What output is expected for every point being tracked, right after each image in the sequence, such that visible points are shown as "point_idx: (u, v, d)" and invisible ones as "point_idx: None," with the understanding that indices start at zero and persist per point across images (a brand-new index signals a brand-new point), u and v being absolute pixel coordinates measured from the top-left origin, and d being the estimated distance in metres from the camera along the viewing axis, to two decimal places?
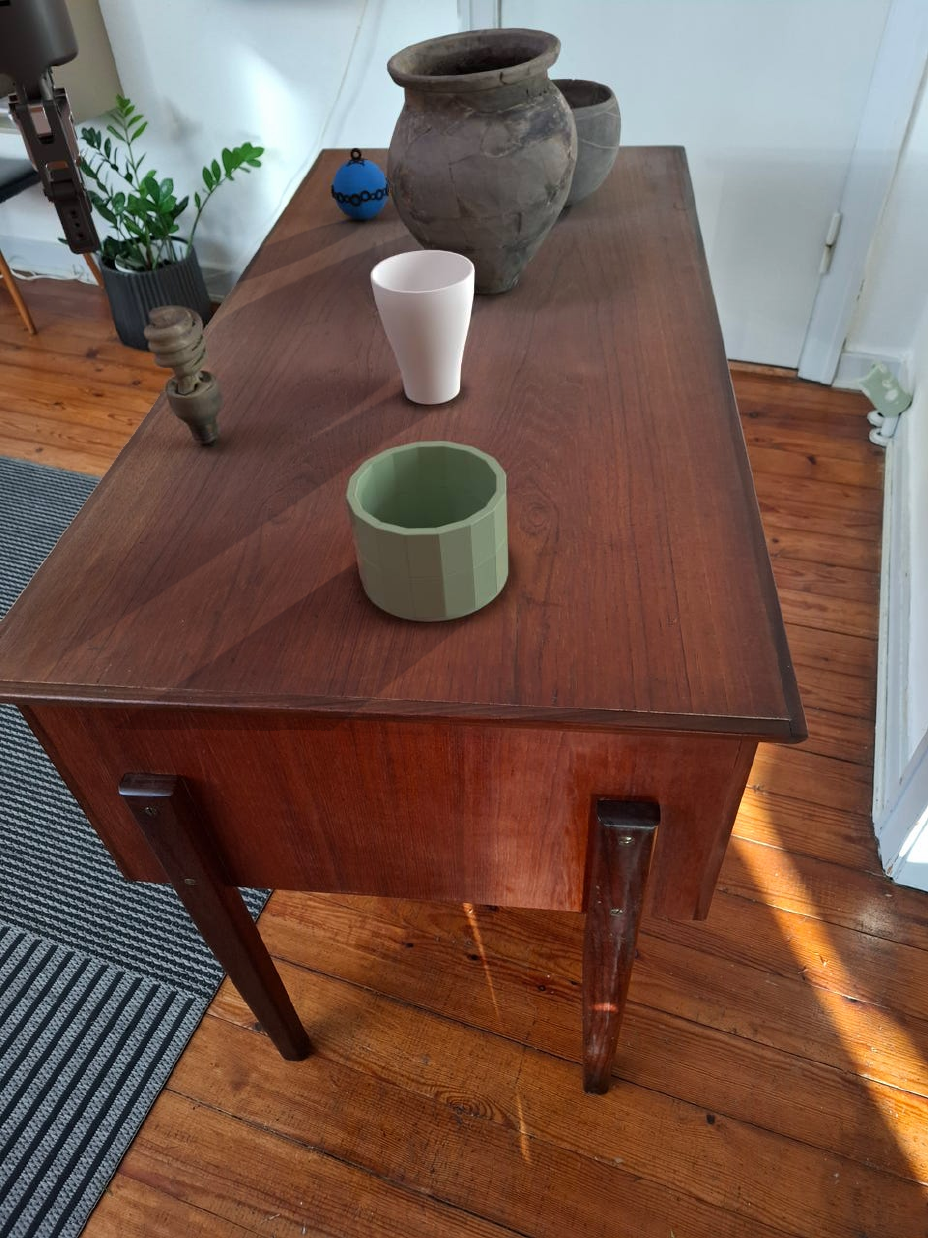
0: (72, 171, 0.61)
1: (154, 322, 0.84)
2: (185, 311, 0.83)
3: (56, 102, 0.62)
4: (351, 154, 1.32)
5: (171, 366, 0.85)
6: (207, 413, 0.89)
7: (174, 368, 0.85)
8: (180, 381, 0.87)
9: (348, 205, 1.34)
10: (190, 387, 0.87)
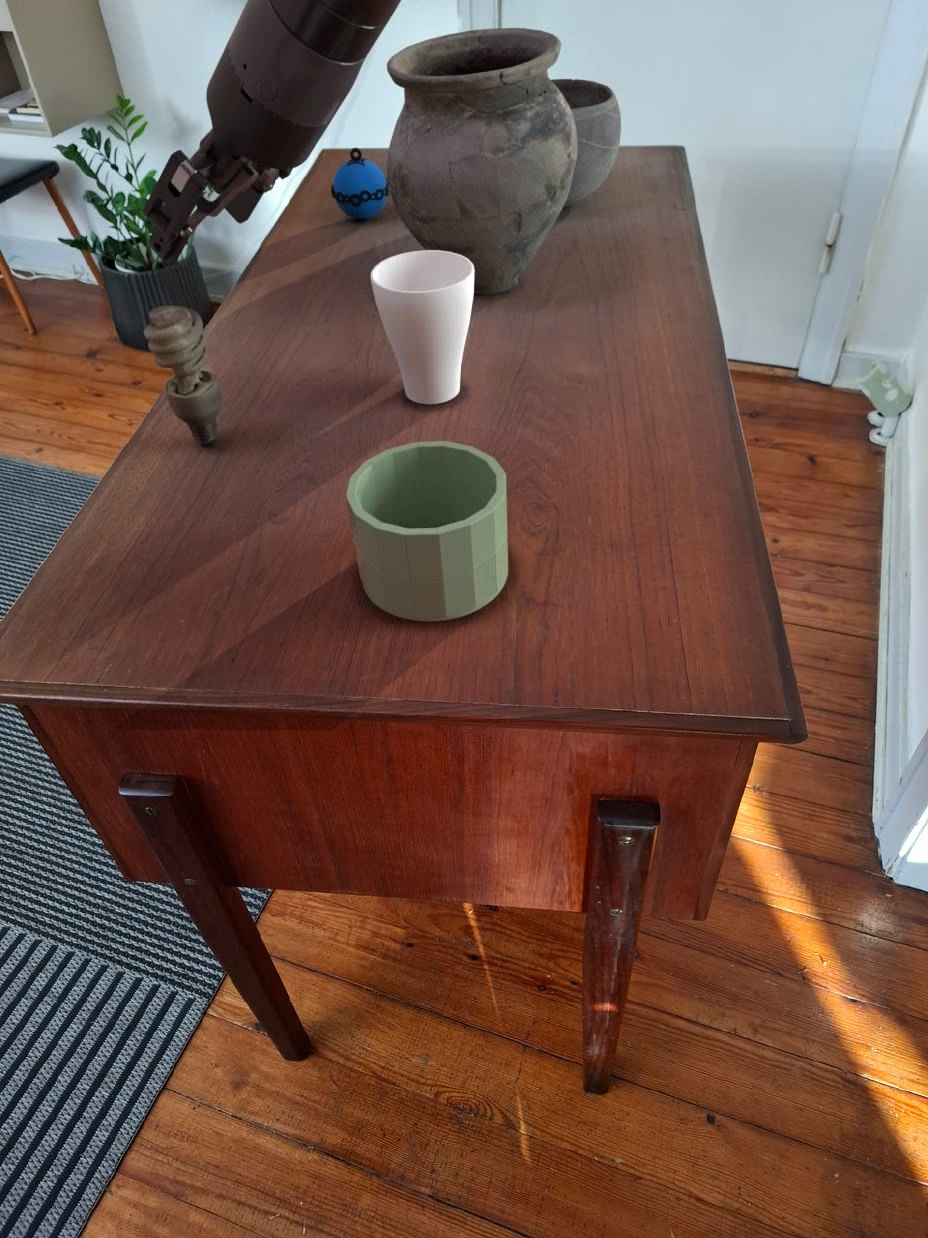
0: (172, 224, 0.60)
1: (154, 322, 0.84)
2: (185, 311, 0.83)
3: (240, 170, 0.61)
4: (351, 154, 1.32)
5: (171, 366, 0.85)
6: (207, 413, 0.89)
7: (174, 368, 0.85)
8: (180, 381, 0.87)
9: (348, 205, 1.34)
10: (190, 387, 0.87)
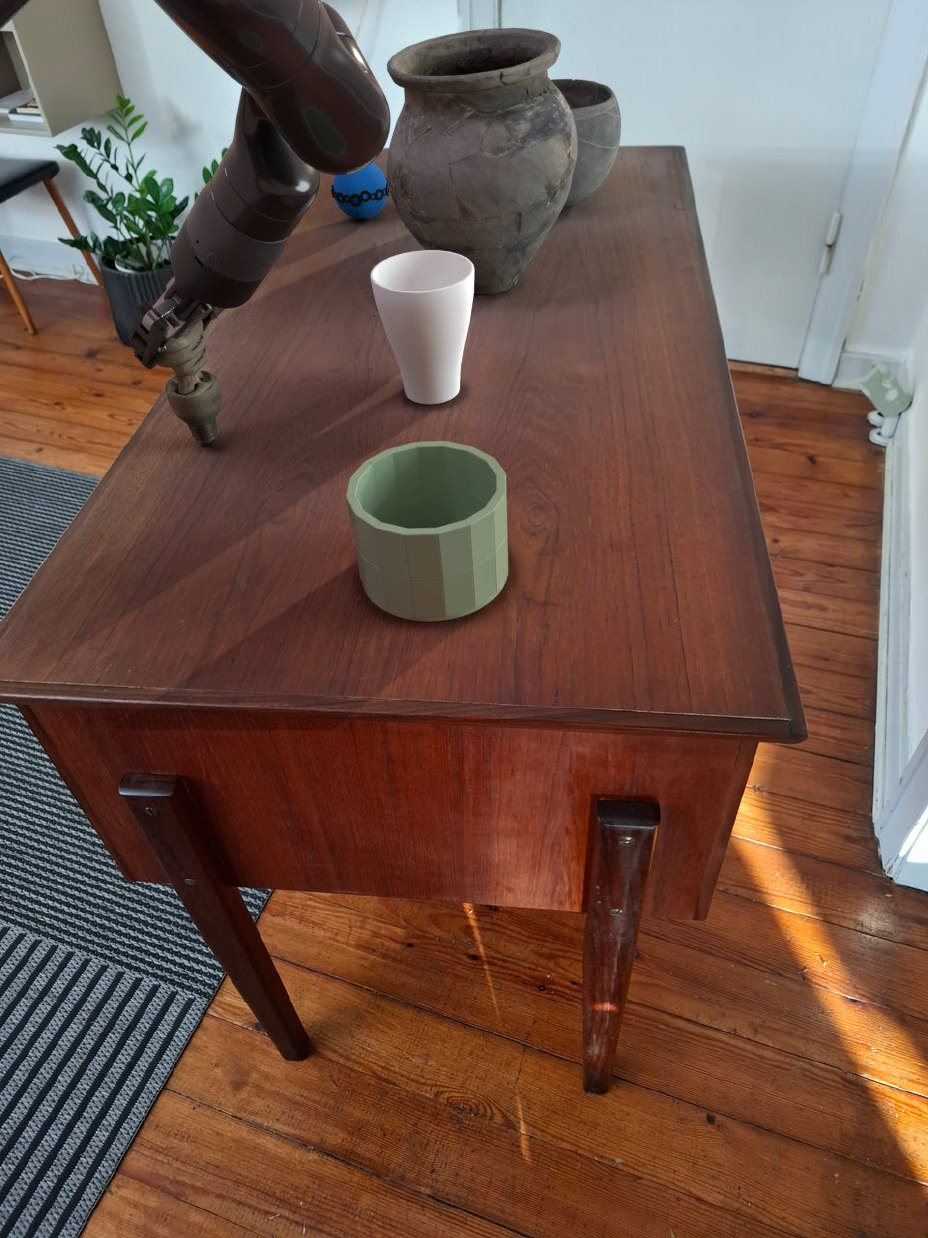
0: (148, 349, 0.79)
1: None
2: None
3: (197, 306, 0.78)
4: None
5: (171, 366, 0.85)
6: (207, 413, 0.89)
7: (174, 368, 0.85)
8: (180, 381, 0.87)
9: (348, 205, 1.34)
10: (190, 387, 0.87)
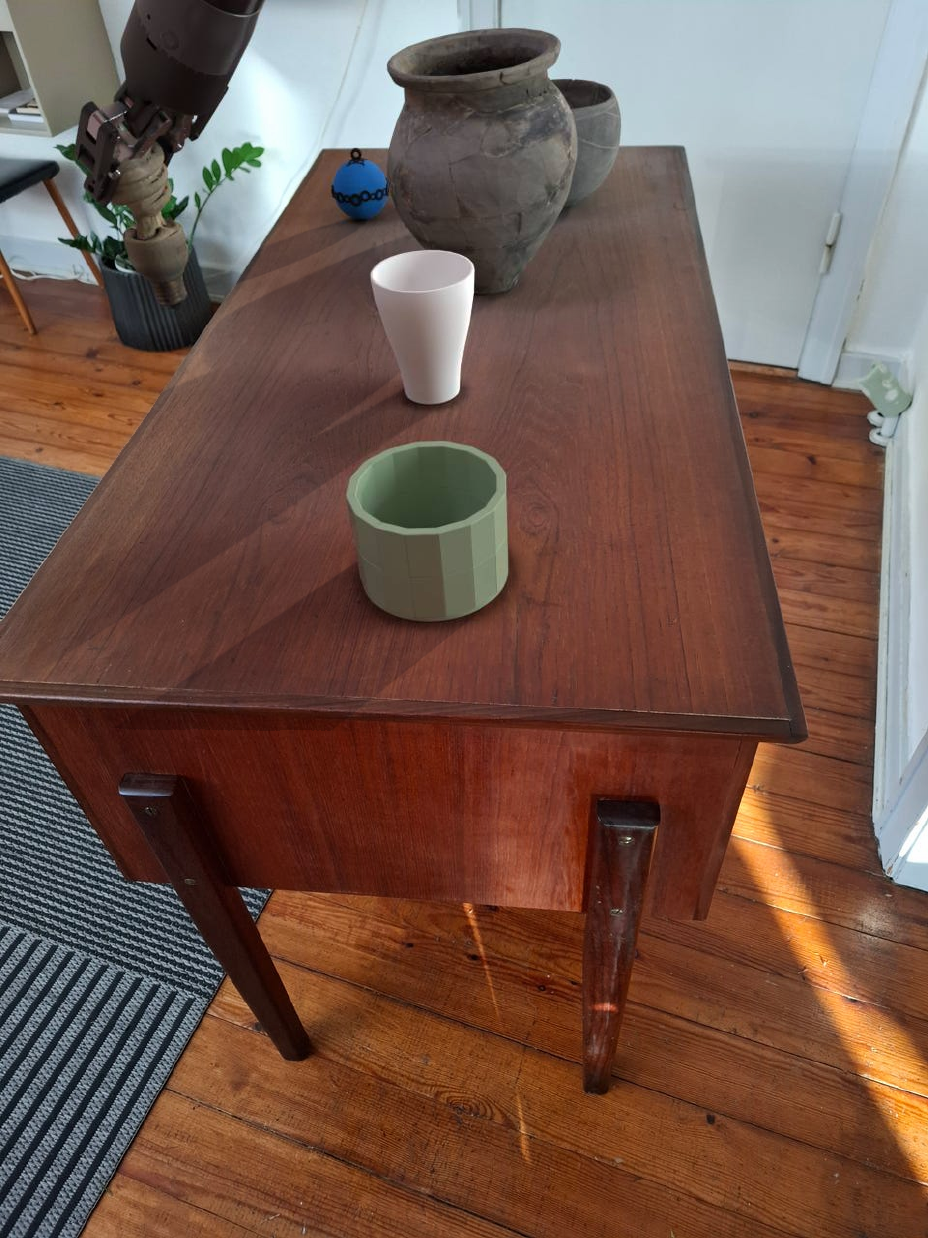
0: (96, 167, 0.67)
1: None
2: None
3: (154, 116, 0.67)
4: (351, 154, 1.32)
5: (127, 202, 0.74)
6: (170, 264, 0.78)
7: (131, 206, 0.74)
8: (139, 223, 0.76)
9: (348, 205, 1.34)
10: (150, 231, 0.76)
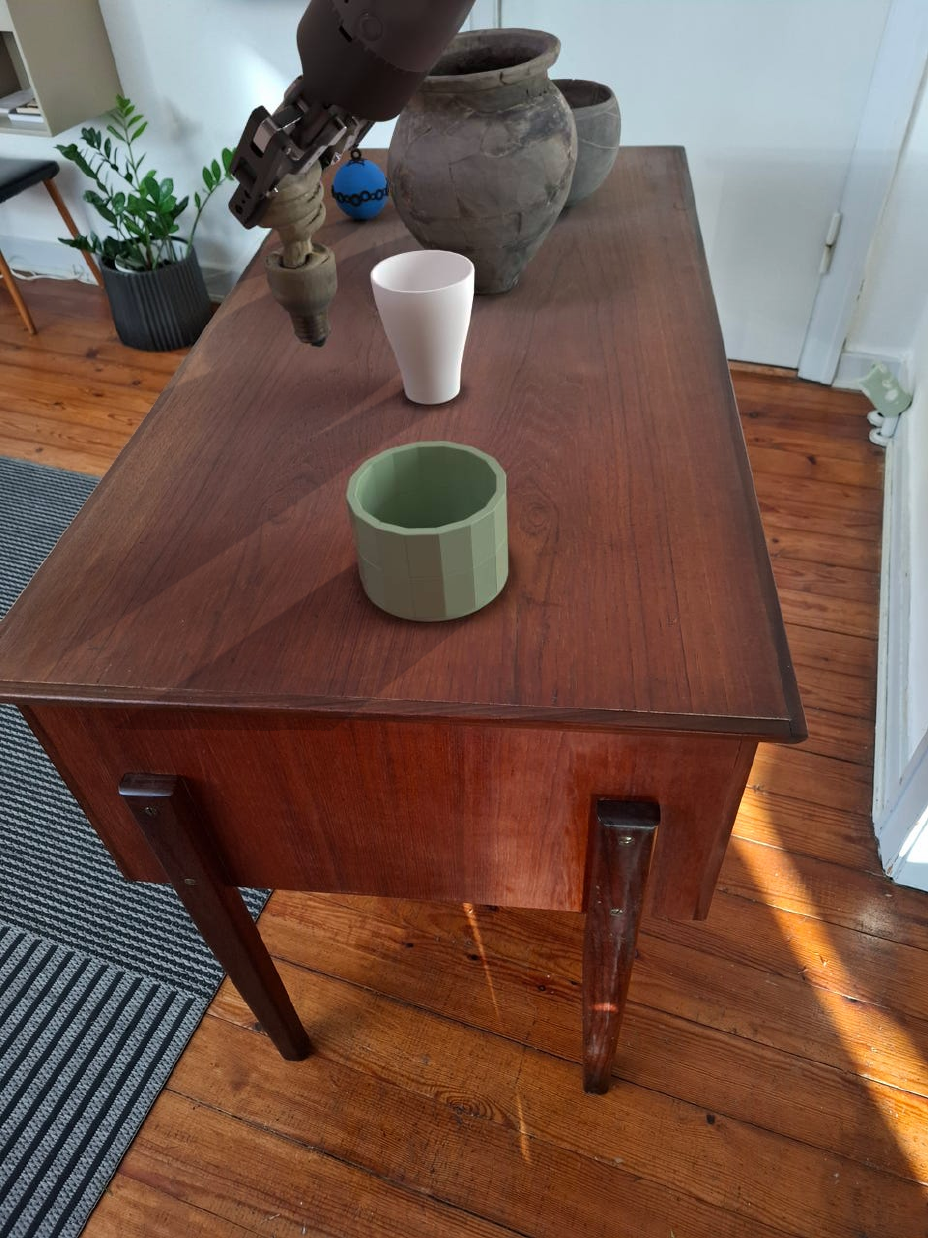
0: (257, 185, 0.56)
1: None
2: None
3: (328, 123, 0.55)
4: (351, 154, 1.32)
5: (279, 224, 0.62)
6: (320, 296, 0.66)
7: (281, 229, 0.63)
8: (288, 249, 0.64)
9: (348, 205, 1.34)
10: (300, 258, 0.64)
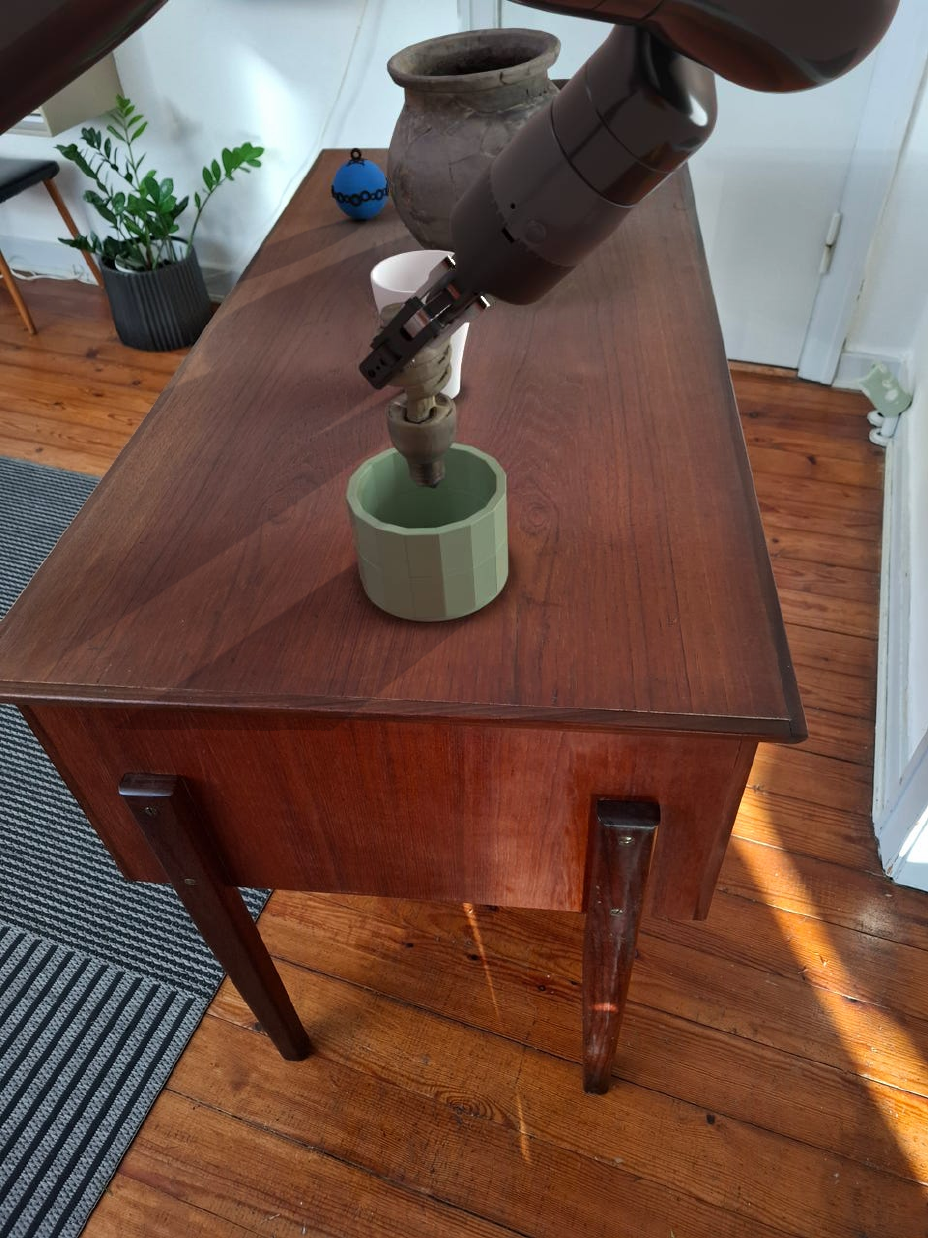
0: (401, 363, 0.56)
1: None
2: None
3: (472, 302, 0.55)
4: (351, 154, 1.32)
5: (408, 385, 0.62)
6: (442, 447, 0.66)
7: (410, 388, 0.63)
8: (413, 405, 0.64)
9: (348, 205, 1.34)
10: (425, 413, 0.64)
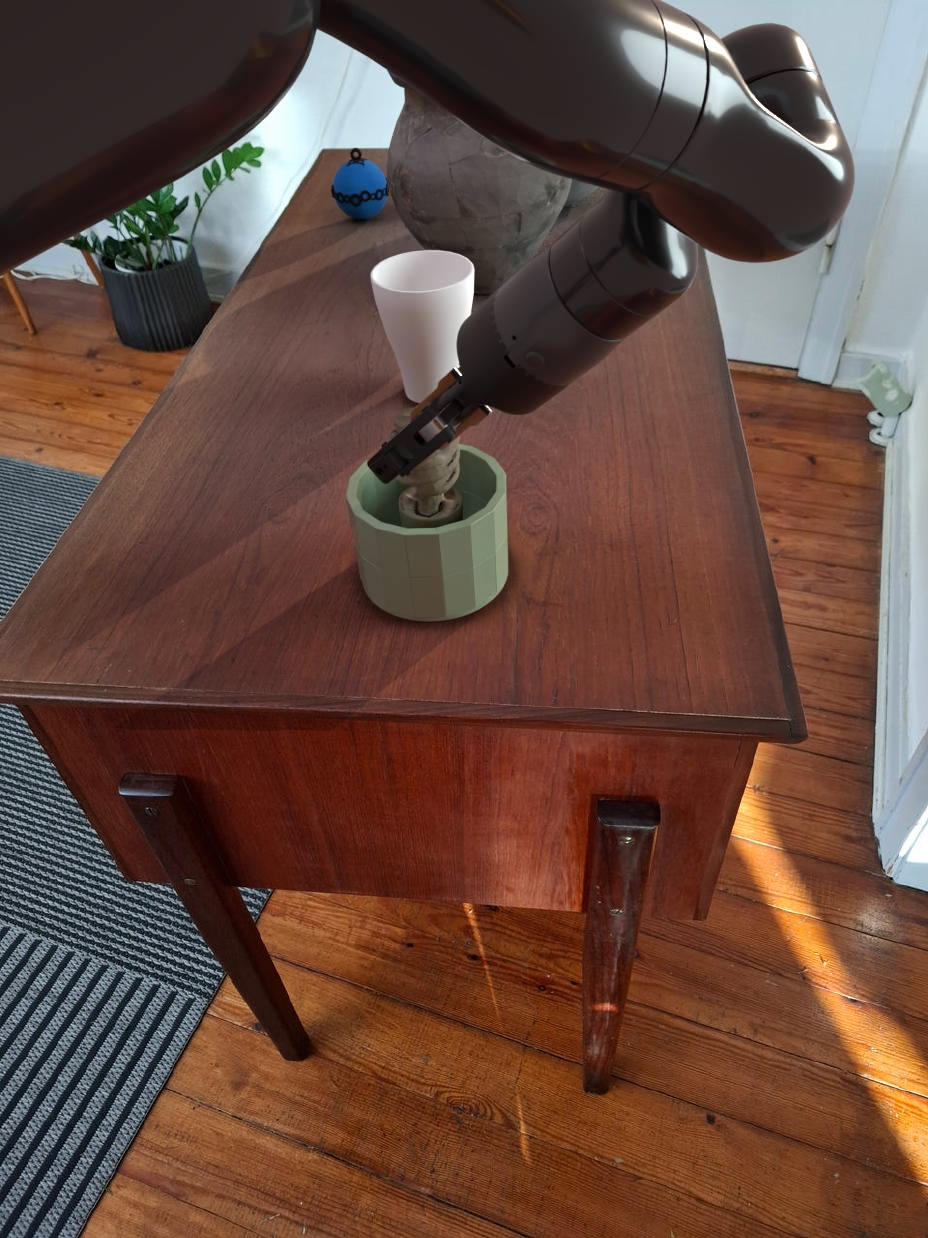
0: (410, 466, 0.60)
1: None
2: None
3: (476, 410, 0.61)
4: (351, 154, 1.32)
5: (420, 485, 0.67)
6: None
7: (421, 487, 0.68)
8: (424, 500, 0.69)
9: (348, 205, 1.34)
10: (434, 507, 0.70)
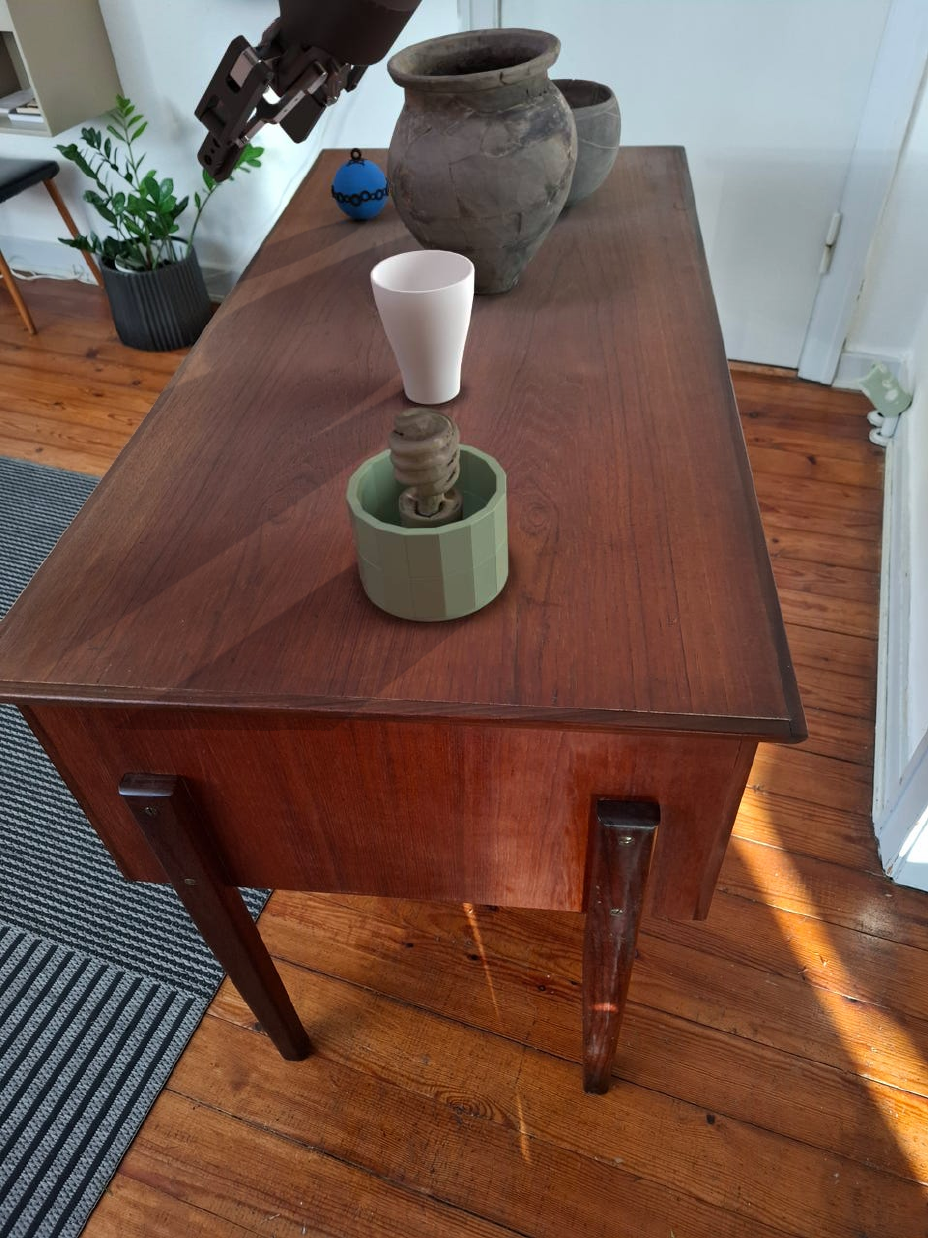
0: (229, 127, 0.52)
1: (402, 431, 0.66)
2: (444, 419, 0.66)
3: (307, 68, 0.53)
4: (351, 154, 1.32)
5: (420, 485, 0.67)
6: None
7: (421, 487, 0.68)
8: (424, 500, 0.69)
9: (348, 205, 1.34)
10: (434, 507, 0.70)
